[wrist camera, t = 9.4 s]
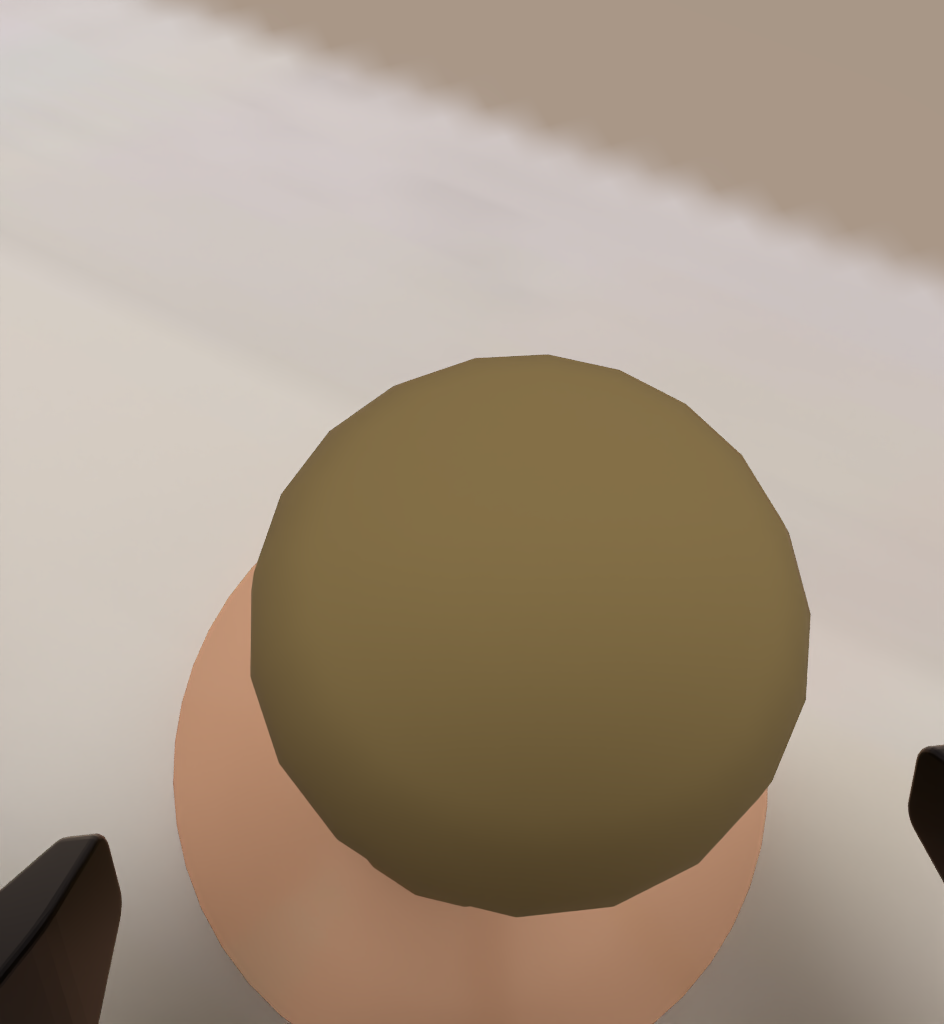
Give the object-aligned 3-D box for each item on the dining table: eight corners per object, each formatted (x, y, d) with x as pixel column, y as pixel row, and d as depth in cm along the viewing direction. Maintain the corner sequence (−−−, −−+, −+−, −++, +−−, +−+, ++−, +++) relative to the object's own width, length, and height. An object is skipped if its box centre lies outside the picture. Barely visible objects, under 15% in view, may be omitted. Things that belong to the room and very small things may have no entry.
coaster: (614, 1219, 14) (625, 1240, 13) (59, 866, 16) (42, 866, 15) (826, 631, 19) (843, 621, 18) (375, 405, 20) (373, 388, 20)
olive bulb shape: (343, 588, 18) (228, 222, 7) (620, 608, 18) (879, 277, 8) (303, 895, 15) (52, 977, 5) (623, 917, 15) (1010, 1038, 5)
